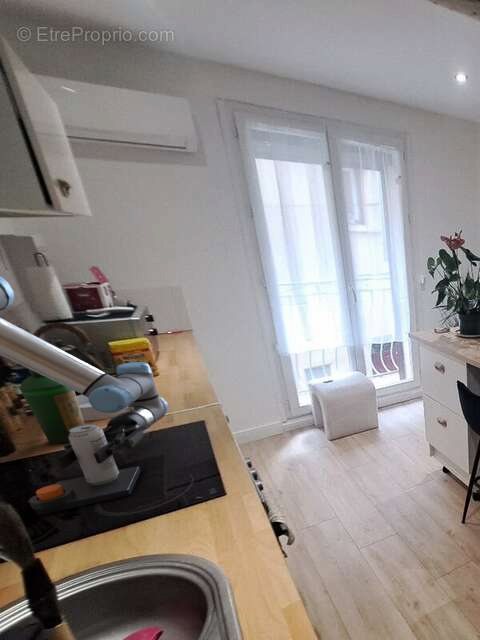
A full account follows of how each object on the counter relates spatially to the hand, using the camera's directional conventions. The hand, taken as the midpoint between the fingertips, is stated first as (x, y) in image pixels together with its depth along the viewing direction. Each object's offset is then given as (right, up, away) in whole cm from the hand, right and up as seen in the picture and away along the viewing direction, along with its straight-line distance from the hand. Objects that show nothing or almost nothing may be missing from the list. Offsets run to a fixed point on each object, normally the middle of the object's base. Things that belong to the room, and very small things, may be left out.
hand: (79, 460), depth 99 cm
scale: (-3, -9, +5) cm, 11 cm away
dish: (-51, +11, +56) cm, 77 cm away
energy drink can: (-2, -6, +8) cm, 10 cm away
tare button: (-5, -8, -2) cm, 10 cm away
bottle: (-40, +2, +33) cm, 52 cm away
